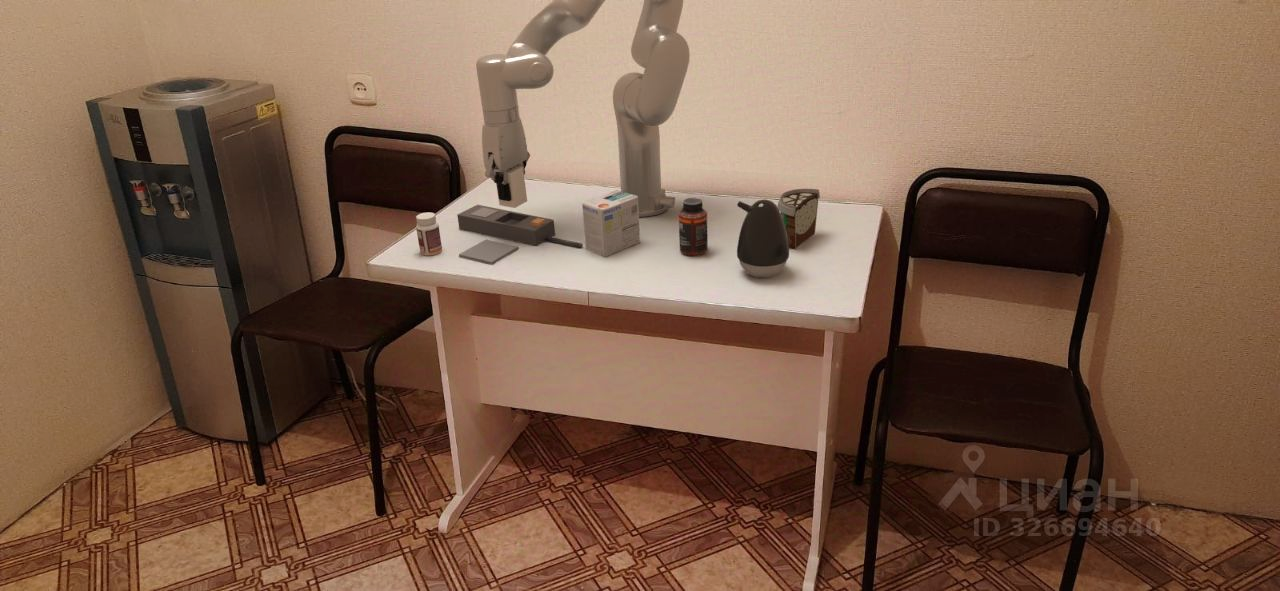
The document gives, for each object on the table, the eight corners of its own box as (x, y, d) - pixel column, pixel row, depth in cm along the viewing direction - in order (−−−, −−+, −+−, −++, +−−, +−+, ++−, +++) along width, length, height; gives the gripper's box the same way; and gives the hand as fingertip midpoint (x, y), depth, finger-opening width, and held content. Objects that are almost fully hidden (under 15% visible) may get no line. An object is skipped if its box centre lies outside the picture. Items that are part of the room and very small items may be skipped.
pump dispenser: (744, 258, 186) (745, 188, 179) (793, 265, 182) (796, 193, 175) (729, 279, 177) (729, 206, 170) (781, 286, 174) (783, 212, 167)
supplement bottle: (712, 248, 191) (712, 198, 186) (699, 259, 186) (699, 207, 181) (687, 243, 194) (686, 194, 189) (674, 254, 189) (673, 203, 184)
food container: (792, 227, 200) (794, 184, 195) (817, 232, 197) (820, 188, 192) (765, 246, 191) (767, 201, 186) (792, 252, 188) (794, 207, 183)
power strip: (591, 242, 196) (590, 223, 194) (573, 254, 191) (571, 234, 189) (479, 218, 212) (476, 201, 210) (459, 229, 206) (456, 211, 204)
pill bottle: (445, 247, 197) (439, 211, 194) (438, 256, 193) (433, 219, 189) (424, 247, 198) (418, 211, 194) (417, 256, 194) (411, 219, 190)
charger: (527, 201, 200) (522, 166, 197) (515, 208, 197) (510, 172, 193) (511, 198, 202) (507, 164, 199) (499, 205, 199) (494, 170, 196)
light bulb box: (620, 234, 200) (617, 188, 195) (641, 242, 195) (639, 195, 191) (584, 249, 193) (580, 202, 188) (605, 257, 189) (602, 209, 184)
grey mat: (518, 249, 195) (518, 246, 194) (491, 264, 188) (491, 262, 188) (486, 241, 199) (486, 239, 199) (459, 256, 192) (458, 254, 192)
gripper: (512, 103, 199) (522, 181, 207) (461, 124, 186) (474, 207, 195) (539, 106, 195) (548, 185, 204) (489, 128, 183) (501, 211, 191)
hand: (512, 195), depth 199 cm, fingers closed on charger, 4 cm apart
